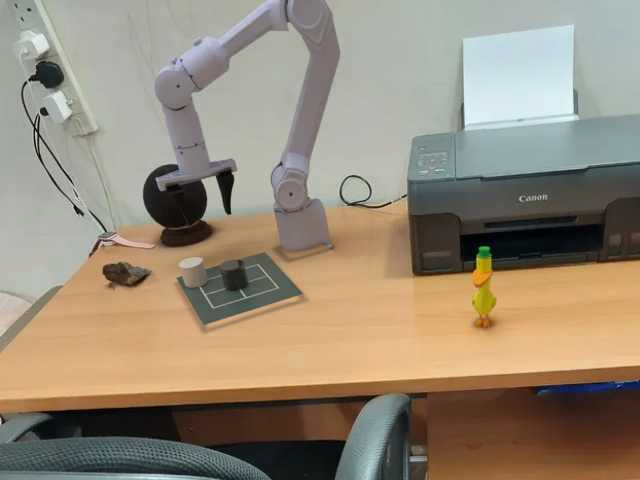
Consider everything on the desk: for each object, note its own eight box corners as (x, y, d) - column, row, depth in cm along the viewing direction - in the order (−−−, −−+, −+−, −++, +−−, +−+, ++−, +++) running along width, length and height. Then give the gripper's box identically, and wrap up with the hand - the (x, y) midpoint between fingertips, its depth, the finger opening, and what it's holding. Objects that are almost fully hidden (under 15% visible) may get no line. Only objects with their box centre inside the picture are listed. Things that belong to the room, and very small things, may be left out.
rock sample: (164, 252, 129) (122, 236, 122) (162, 289, 127) (119, 275, 121) (137, 268, 136) (96, 254, 129) (135, 303, 134) (93, 290, 128)
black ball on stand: (192, 250, 138) (171, 177, 129) (144, 246, 143) (120, 175, 134) (227, 225, 147) (210, 155, 138) (181, 222, 152) (161, 154, 143)
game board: (266, 257, 131) (264, 251, 130) (305, 300, 115) (303, 293, 114) (177, 283, 127) (175, 277, 126) (205, 331, 110) (203, 325, 110)
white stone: (205, 274, 125) (199, 254, 123) (211, 283, 122) (205, 263, 119) (182, 281, 124) (176, 261, 121) (187, 290, 121) (181, 269, 118)
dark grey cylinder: (244, 277, 122) (239, 256, 120) (251, 286, 119) (246, 265, 116) (221, 284, 121) (216, 263, 119) (228, 293, 118) (222, 272, 115)
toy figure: (488, 336, 99) (489, 261, 91) (465, 334, 100) (463, 260, 92) (499, 314, 103) (500, 241, 96) (476, 312, 105) (476, 239, 97)
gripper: (221, 129, 122) (239, 202, 130) (144, 148, 118) (167, 222, 127) (232, 137, 117) (250, 213, 125) (151, 157, 113) (175, 234, 121)
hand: (209, 218), depth 125 cm, fingers open, 7 cm apart
